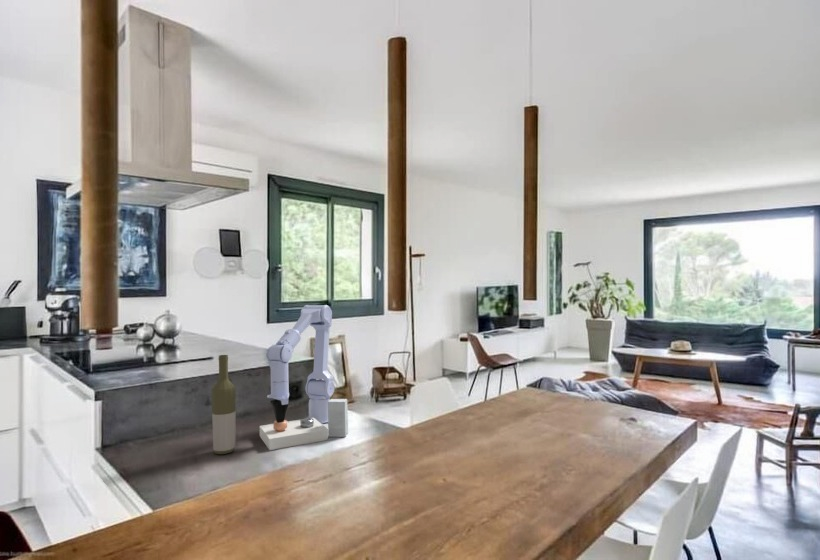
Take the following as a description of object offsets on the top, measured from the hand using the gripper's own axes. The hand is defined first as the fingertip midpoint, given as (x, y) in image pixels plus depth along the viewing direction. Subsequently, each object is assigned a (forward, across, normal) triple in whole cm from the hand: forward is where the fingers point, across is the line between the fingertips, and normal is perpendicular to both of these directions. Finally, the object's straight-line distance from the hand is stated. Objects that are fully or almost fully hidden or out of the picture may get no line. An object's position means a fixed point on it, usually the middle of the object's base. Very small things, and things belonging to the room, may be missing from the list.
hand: (280, 421), depth 153 cm
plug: (+6, 0, +9) cm, 11 cm away
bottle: (+6, +1, -18) cm, 19 cm away
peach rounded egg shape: (+5, 0, 0) cm, 5 cm away
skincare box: (+6, +4, +18) cm, 20 cm away
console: (+6, -1, +4) cm, 8 cm away
